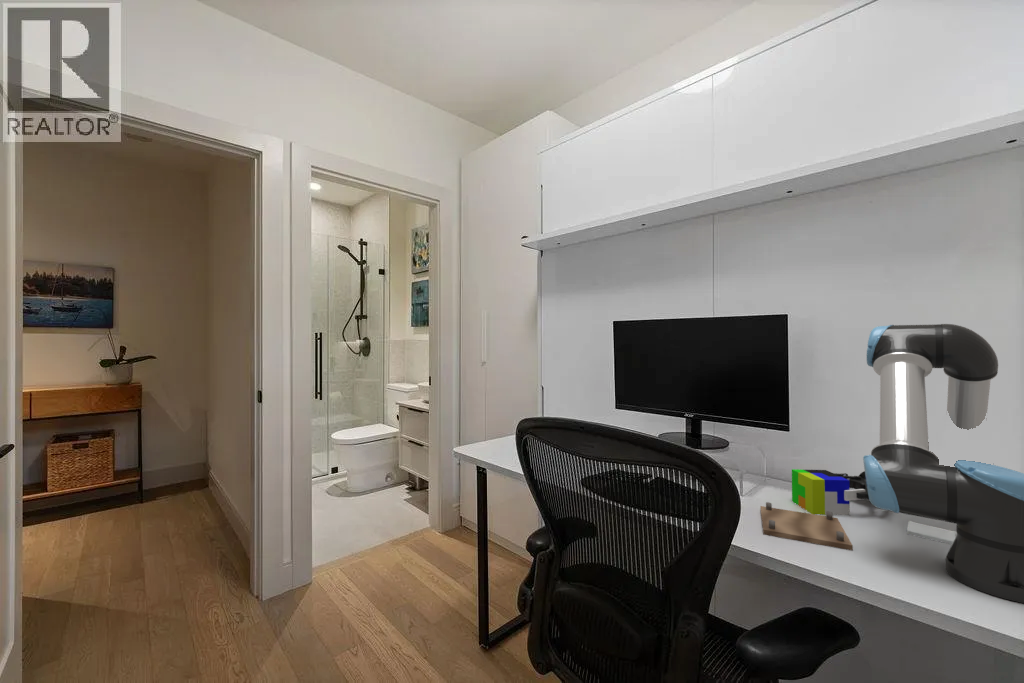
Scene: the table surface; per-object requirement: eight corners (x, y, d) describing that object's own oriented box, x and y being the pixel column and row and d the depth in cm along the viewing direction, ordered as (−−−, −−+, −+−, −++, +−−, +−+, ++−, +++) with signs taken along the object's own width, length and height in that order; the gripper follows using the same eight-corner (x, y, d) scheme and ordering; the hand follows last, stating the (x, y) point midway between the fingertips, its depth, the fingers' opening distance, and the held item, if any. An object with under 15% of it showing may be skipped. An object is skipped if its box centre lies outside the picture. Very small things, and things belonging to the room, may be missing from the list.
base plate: (837, 522, 114) (837, 511, 114) (852, 550, 98) (852, 537, 98) (760, 510, 123) (760, 499, 123) (763, 534, 107) (763, 522, 107)
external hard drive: (908, 526, 113) (977, 542, 104) (906, 536, 107) (979, 553, 98) (908, 520, 113) (977, 535, 104) (906, 529, 107) (979, 546, 98)
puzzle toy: (849, 515, 119) (849, 480, 119) (812, 514, 120) (812, 479, 120) (826, 502, 129) (825, 470, 129) (792, 501, 130) (791, 469, 130)
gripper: (927, 510, 117) (866, 516, 112) (840, 482, 141) (787, 486, 137) (927, 483, 117) (866, 488, 113) (840, 460, 141) (787, 463, 137)
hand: (822, 487), depth 125 cm, fingers open, 13 cm apart
